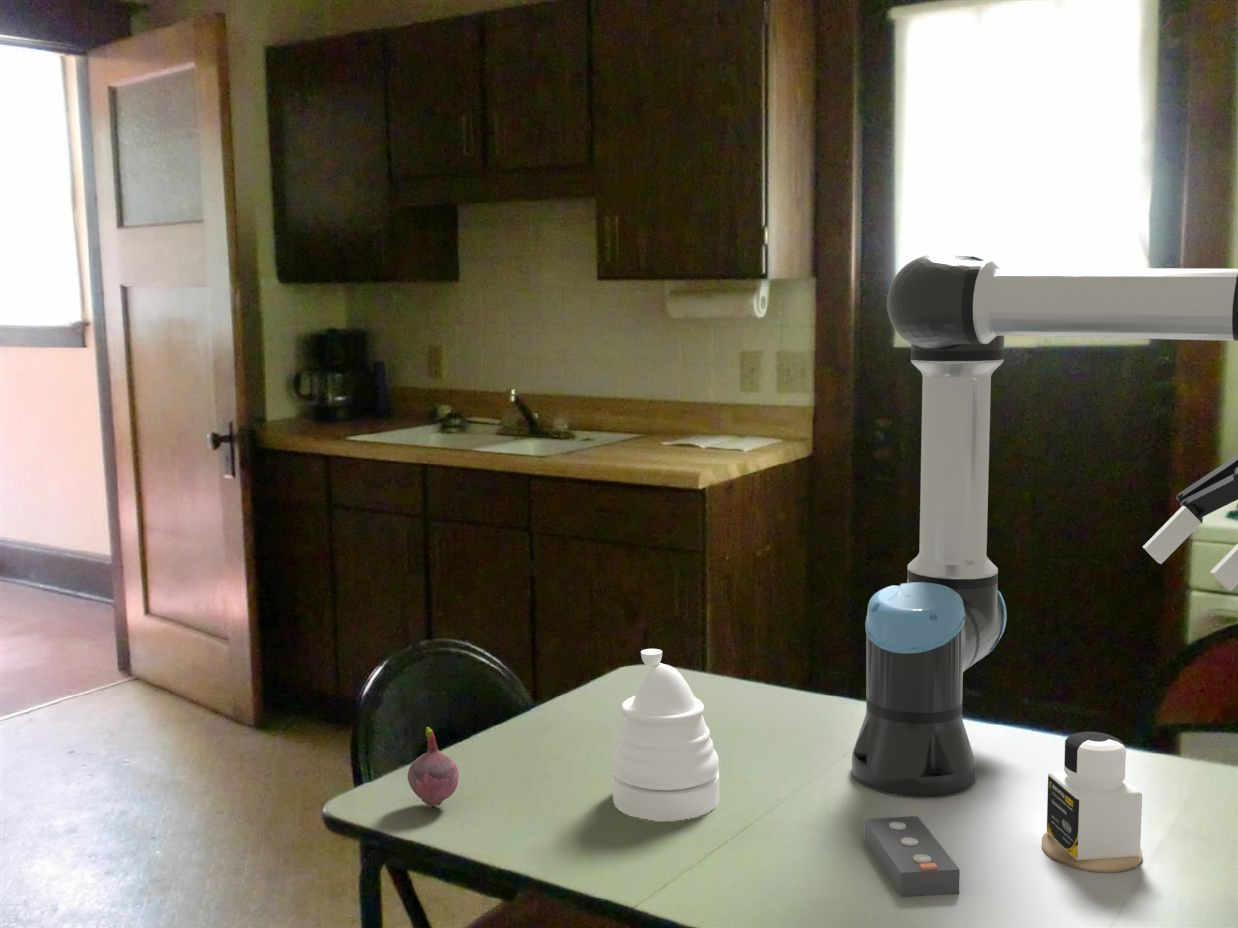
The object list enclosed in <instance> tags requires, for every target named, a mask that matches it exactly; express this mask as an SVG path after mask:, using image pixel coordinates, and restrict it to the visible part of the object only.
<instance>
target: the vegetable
mask: <svg viewBox="0 0 1238 928" xmlns="http://www.w3.org/2000/svg"><path fill="white" fill-rule="evenodd" d="M424 735H425V736H426V741H427V750H426V752H425V753H423V754H421V755H420V756H418V757H417V758H416V759H415V760H414V761H413V762H412V764H410V766H409V768H408V770H407V771H408V772H407V781H408V784H409V786H410V788H411V790H412V791H413V792H414V794H415V795H416V796H417V797H418V798H420V800H421V802H423V803H425V805H428V806H429V807H432V806H434V807H435V806H436V807H437V806H441V805H442V804H443V801H445V800H447V799H449V798H450V797H451V796H452V795H453V794H454V793H455V791H456V790H457V787H458V783H459V769H458V766H457V764H456V762H454V760H453V759H451V757H449V756H447V755H446V754H444V753H442V752H441V750H439V749H438V744H437V740H436V736H435V734H434V731H433V729H432V728H430V727H429V726H426V727H425V734H424Z"/></svg>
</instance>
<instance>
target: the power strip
mask: <svg viewBox="0 0 1238 928" xmlns="http://www.w3.org/2000/svg"><path fill="white" fill-rule="evenodd" d="M863 841H864V843H865V844H866V846H867V848H868V849H869V850H870V852H871V854H872V855H873V857H874V858H875V860H876V861H877V862H878V864H879V866H880V867H881V869H882V871H883V872H884V873H885V875H886V876H887V877H888V879H889V881H890V882H891V884H892V886H893V887H894V889H895V890H896V892H897V893H898V895H899V897H900V898H901V897H903V898H904V897H917V896H919V897H920V896H932V895H933V896H934V895H936V896H937V895H952V894H953V895H954V894H960V885H961V884H960V877H961V876H960V875H961V873H960V871H961V869H960V868H959V867H958V865H957V864H956V862H954V861H953V859H952V857H950V855H949V854H948V853H947V852H946V850H945V849H944V848H943V846H942V845H941V844H940V842H939V841H938V840H937V838H936V837H934V835H933V834H932V832H931V831H930V830H929V829H928V828H927V826H926V825H925V824H924V822H923V821H922V820H921V818H920V817H919V816H918V815H911V816H910V815H909V816H893V817H892V816H891V817H890V816H888V817H872V818H871V817H870V818H864V819H863Z"/></svg>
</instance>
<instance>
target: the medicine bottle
mask: <svg viewBox="0 0 1238 928" xmlns="http://www.w3.org/2000/svg"><path fill="white" fill-rule="evenodd" d="M1126 755H1127V746H1126V745H1125V744H1124V742H1123V741H1122V740H1121V739H1119V738H1117V737H1115V736H1113V735H1111V734H1108V733H1103V732H1098V731H1081V732H1076V733H1073V734H1070V735H1069V736H1068V737H1067V738H1065V740H1064V765H1063V766H1064V767H1063V770H1059V771H1049V772H1048V774H1047V801H1046V802H1047V803H1046V804H1047V806H1046V807H1047V808H1046V832H1047V833H1048V834H1049V835H1050V836H1051V837H1052V838H1053V839H1054V840H1055V841H1056V842H1058V843H1059V844H1060V845H1061V846H1062V847H1063V848H1064V849H1065V850H1066V851H1067V852H1068V853H1069V854H1070V855H1071V856H1072V857H1073V858H1074V859H1075V860H1077V861H1083V860H1099V859H1114V858H1130V857H1138V856H1140V848H1141V843H1142V840H1141V839H1142V813H1143V812H1142V811H1143V809H1142V808H1143V794H1142V792H1141V791H1140V790H1138V788H1135V787H1134V786H1133V784H1132V785H1131V784H1130V783H1129V782H1128V781H1126V780H1125V779H1126V762H1127V761H1126V760H1127V759H1126Z"/></svg>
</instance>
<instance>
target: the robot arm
mask: <svg viewBox="0 0 1238 928" xmlns="http://www.w3.org/2000/svg"><path fill="white" fill-rule="evenodd" d="M886 307H887V314H888V318H889V321H890V322H891V323H890V324H891V326H892V327H893V329H894V330H895V331H896V333H897V334H898V336H900V337H901V338H902V339H904V340H905V341H906V342H908V343H909V344H910V362H911V364H912V365H913V366H915V368H916V369H917V370H918V371H920V373H921V375H922V386H921V387H922V388H921V389H922V390H921V391H922V394H921V397H922V398H921V401H922V402H921V441H920V442H921V446H920V448H921V449H920V455H921V456H920V499H919V500H920V501H919V502H920V503H919V504H920V505H919V506H920V507H919V511H920V512H919V552H918V554H917V556H916V557H915V558H913V559H912V560H911V561H910V562H909V563H908V564H907V569H906V570H907V575H906V576H907V580H906V581H907V582H904V583H899V585H888V586H886V587H884V588H882V589H880V590H878V591H877V592H875V593H874V594H873V595H872V596H871V598H870V599H869V602H868V605H867V610H866V611H867V613H866V617H865V622H864V626H865V633H866V634H865V635H866V636H865V637H866V639H865V640H866V641H865V646H866V647H865V648H866V649H865V650H866V651H865V653H866V654H865V660H866V662H865V664H866V667H865V668H866V670H865V671H866V675H865V677H866V678H865V680H866V682H865V684H866V685H865V688H866V689H865V692H866V694H865V695H866V699H865V700H866V702H865V703H866V707H865V710H866V711H865V714H864V715H865V716H864V718H863V721H862V724H861V726H860V727H861V728H860V730H859V733H858V736H857V738H856V742H855V744H854V748H853V750H852V755H851V773H852V775H853V777H854V778H855V779H856V781H858V782H859V783H860V784H862V785H864V786H866V787H868V788H870V789H873V790H875V791H878V792H881V793H885V794H889V795H894V796H900V797H906V798H907V797H908V798H919V799H920V798H923V799H926V798H927V799H928V798H929V799H930V798H931V799H932V798H944V797H949V796H954V795H955V796H956V795H958V794H961V793H963V792H966V791H968V790H970V789H971V788H972V787H973V786H974V785H975V783H976V780H977V779H976V778H977V777H976V776H977V766H976V765H977V763H976V758H975V756H974V755H975V754H974V753H973V749H972V745H971V743H970V740H969V736H968V733H967V730H966V726H965V725H964V721H963V683H964V682H963V675H964V672H966V670H968V669H969V668H971V667H972V666H973V665H975V664H976V663H977V662H979V661H981V660H983V659H984V658H985V657H987V656H988V655H989V654H990V653H991V652H993V650H994V649H995V647H996V646H997V645H998V643H999V641H1000V639H1001V638H1002V636H1003V633H1004V632H1005V628H1006V626H1007V625H1006V624H1007V606H1006V602H1005V600H1004V598H1003V595H1002V593H1001V591H999V589H998V585H999V583H998V582H999V581H998V580H999V579H998V578H999V568H998V567H997V566H996V565H995V564H994V563H993V562H992V561H991V559H990V558H989V557H988V556H987V549H988V548H987V547H988V546H987V544H988V513H989V512H988V506H989V504H988V502H989V499H988V498H989V470H990V469H989V465H990V464H989V463H990V428H991V427H990V426H991V391H992V389H991V387H992V386H991V385H992V383H991V382H992V378H991V377H992V375H993V373H994V372H995V370H996V369H998V368H999V367H1000V366H1001V365H1002V364H1003V363H1004V360H1005V359H1004V357H1005V355H1004V354H1005V336H1008V337H1053V338H1055V337H1057V338H1096V339H1097V338H1099V339H1100V338H1101V339H1139V340H1140V339H1141V340H1142V339H1147V340H1182V341H1183V340H1184V341H1185V340H1187V341H1188V340H1190V341H1192V340H1193V341H1228V342H1230V341H1234V342H1238V268H1121V269H1120V268H1118V269H1117V268H1111V269H1110V268H1106V269H1105V268H1103V269H1101V268H1100V269H1097V268H1089V269H1088V268H1085V269H1082V268H1081V269H1079V268H1077V269H1075V268H1074V269H1073V268H1072V269H1068V268H1067V269H1066V268H1065V269H1062V268H1061V269H1056V268H1055V269H1054V268H1053V269H1050V268H1049V269H1001V268H1000V267H998V265H996V263H995V262H993V261H991V260H984V259H983V258H980V257H976V256H974V255H972V256H969V255H948V254H940V253H939V254H937V253H935V254H934V253H933V254H926V255H923V256H921V257H917V258H915V259H913V260H912V261H910V262H909V263H907V264H905V265H904V266H903V267H902V268H901V269H900V270H898V272H897V274H896V275H895V277H894V278H893V279H892V281H891V283H890V285H889V290H888V293H887V299H886ZM1175 499H1176V500H1177V502H1178V503H1179V505H1180V508H1179V509H1178V510H1176V512H1174V514H1172V516H1171V517H1170V518H1169V519H1168V520H1167V521H1166V522H1165V523H1164V524H1163V525H1162V526H1161V527H1160V528H1159V529H1158V530H1157V531H1156V532H1155V533H1154V535H1152V537H1151V538H1149V540H1148V541H1147V542H1145V544H1143V546H1142V548H1143V549H1144V550H1145V551H1146V552H1147V553H1148V554H1149V556H1151V558H1152V559H1154V561H1156V563H1158V564H1160V565H1162V564H1163V563H1164V562H1165V561H1167V559H1168V558H1169V557H1170V556H1171V555H1172V554H1173V553H1174V552H1175V551H1176V550H1177V549H1178V547H1180V546H1181V545H1182V544H1183V543H1184V542H1185V541H1186V540H1187V538H1189V536H1191V534H1192V533H1193V532H1195V531H1196V529H1197V528H1198V527H1200V525H1202V524H1203V521H1204V517H1205V516H1208V515H1210V514H1212V513H1214V512H1216V511H1218V510H1219V509H1221V508H1223V507H1225V506H1228V505H1230V504H1232V503H1233V502H1236V501H1237V500H1238V452H1237V453H1236V454H1234V456H1233V457H1231V458H1230V459H1228V460H1226V461H1225V462H1224V463H1222V464H1220V465H1219V466H1217V467H1216V468H1214V469H1213V470H1212V471H1210V472H1209V473H1207V474H1206V475H1204V476H1202V477H1201V478H1200V479H1198V480H1197V481H1194V482H1193V483H1191V485H1188V487H1186V488H1185V489H1183V490H1182V491H1180V492H1178V493H1177V494H1176V495H1175ZM1209 573H1210V574H1212V576H1214V578H1215V579H1216V580H1217V581H1218V582H1219V583H1220V584H1221V585H1222V586H1223V587H1224V588H1225V589H1226V590H1227V591H1229V592H1232V591H1233V589H1235V588H1236V587H1237V586H1238V543H1237V544H1235V546H1233V548H1232V549H1231V550H1230V551H1229V552H1228V553H1227V554H1226V555H1224V557H1223V558H1221V560H1219V562H1218V563H1217V564H1216V565H1215V566H1214V567H1213V568H1212V569H1211V570H1210V572H1209Z"/></svg>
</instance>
